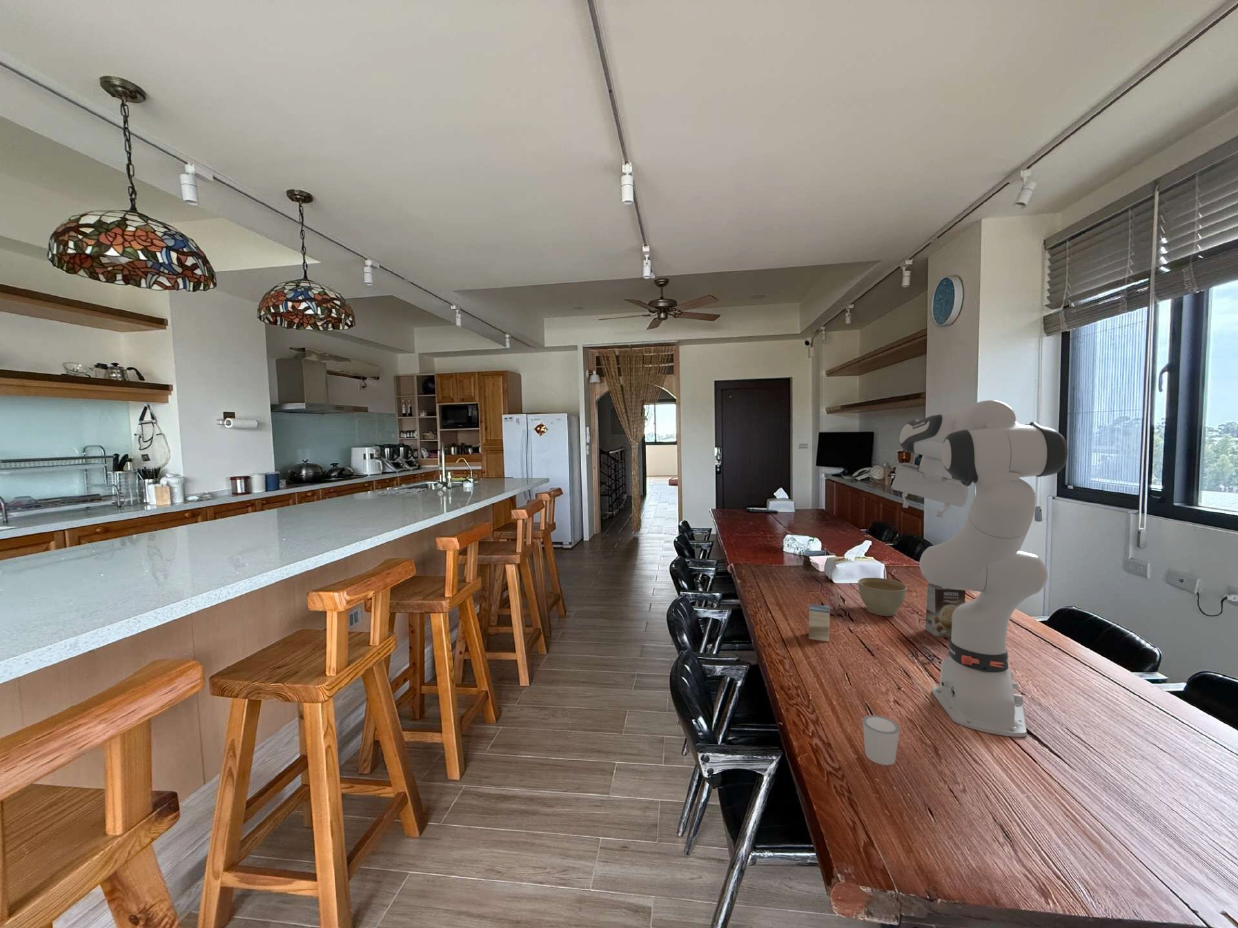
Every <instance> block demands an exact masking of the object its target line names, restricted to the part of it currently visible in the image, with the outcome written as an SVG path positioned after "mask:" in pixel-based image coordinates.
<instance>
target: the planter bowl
mask: <svg viewBox="0 0 1238 928" xmlns="http://www.w3.org/2000/svg"><path fill="white" fill-rule="evenodd" d="M857 584H858V593H859V595H860V598H861V601H862V602H863V604H864V606H866V607H865V608H866V611H868V612H869V613H871V614H873V615H877V616H882V617H883V616H884V617H890V616H891V617H892V616H895V615H896V613H897V611H898V610H899V609H900V608H901V606H902V605H903V603H904V601H905V598H906V593H907V585H906V584H905V583H902V582H900V581H898V580H893V579H890V578H889V579H888V578H881V577H863V578H860V579H858V580H857Z"/></svg>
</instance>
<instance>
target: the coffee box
mask: <svg viewBox="0 0 1238 928" xmlns="http://www.w3.org/2000/svg"><path fill="white" fill-rule="evenodd" d="M926 586H927V589H926V611H925V628H924V629H925V630H926V631H928V633H930V634H932V636H934V637H943V638H944V637H947V638H948V637H949V638H951V632H952V613H953V611H954V610H955V609H956V608H957V607H958V606H960V605H962V604H964V603H966V591H967V590H957V589H949V588H945V587H941V586H937V585H934V584H930V583H927V585H926Z"/></svg>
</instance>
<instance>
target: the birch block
mask: <svg viewBox="0 0 1238 928" xmlns="http://www.w3.org/2000/svg"><path fill="white" fill-rule="evenodd" d="M830 608H831V607H830V606H829V605H823V604H821V605H820V604H815V603H814V604H812V603H810V604H809V608H808V639H809V640H815V641H822V642H829V641H830V611H831V610H830Z"/></svg>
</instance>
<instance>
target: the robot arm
mask: <svg viewBox="0 0 1238 928" xmlns="http://www.w3.org/2000/svg"><path fill="white" fill-rule="evenodd" d="M898 441H899V445H900V446H901V448H902V449H903V451H905V452H906V453H910V454H918V455H922V457H921V460H920V463H919V465H917V464H912V463H909V462H903V463H902V462H901V463H899V464H897V465H896V467H895V471H894V473H895V477H894V479H893V481H892V484H891V488H892V490H894V491H897V492H901V493H902V494H901V496H902V497H901V498H902V501H903V504H902V508H906V509H908V507H909V506H910V502H907V500H906V497H908V494H910V495H913V496H917V497H921V498H924V499H929V500H933V501H937V502H939V503H944V505H943V506H944V508H943V509H942V510H937V513H936V517H938V518H941V519H942V518H943V516H944V513H946V511H948V510H949V509H950V508H951V506H956V507H959V508H963V507H965V506H966V504H967V501H968V496H969V486H971V485H972V483H973V484H974V486H975V494H974V495H975V496H974V499H973V500H972V503H971V505H970V508H969V511H968V515H967V517H966V520H965V523H964V524H963V527H962V529H961V530H960V531H959V532H958V533H957V534H956V535H954V536H952V537H951V538H950V539H948V540H946V541H944V542H941V543H939V544H935V545H932V546H931V545H930V546H928V547H927V548H926V549H924V551H923V552H922V554H921V556H920V558H919V569H920V572H921V574H922V577H924V579H925V580H926V581H927V583H928V584H934V585H937V586H941V587H945V588H949V589H957V590H966V591H970V592H979V595H978V596H977V597H976V598H975V599H973V600H971V601H969V602H968V601H967V602H965V603H964V604H962V605H960V606H958V607H957V608H956V609H955V610H954V611H953V613H952V632H951V637H950V639H949V641H948V656H947V657H946V658H945V659H943V660H942V661H941V665H940V675H939V686H938V685H937V686H932V688H931V693H932V694H933V696H934V697H935V698H936V700H937V701H938V703H939V704H940V705H941V707H942V708H943V709H944V711H945V712H946V713H947V714H948V716H949V717H950V719H951V721H953V722H954V723H956V724H957V725H960V726H964V727H965V728H969V729H973V730H976V731H979V732H983V733H988V734H993V735H999V736H1005V737H1014V738H1018V737H1019V738H1022V737H1023V738H1024V737H1027V736H1028V732H1027V726H1026V725H1027V724H1026V719H1025V712H1024V705H1023V704H1024V698H1023V695H1022V694H1017V693H1014V689H1015V690H1017V689H1018V683H1017V682H1014V681H1013V672H1012V671H1011V670H1010V668H1009V662H1010V661H1009V655H1008V653H1009V652H1008V650H1007V649H1006V648H1007V647H1006V646H1007V635H1008V628H1009V623H1010V622H1009V621H1010V619H1011V616H1012V615H1013V613H1014V611H1016V609H1017V607H1019V605H1021V603H1023V602H1024V601H1025V600H1027V599H1028V598H1030V597H1031V596H1034V595H1036V594H1039V592H1041V591H1043V589H1044V588H1045V586H1046V584H1047V582H1048V577H1049V575H1048V570H1047V567H1046V565H1045V563H1044V561H1043V560H1042V559H1041V558H1040V557H1039V556H1038V555H1037V554H1035V553H1031V552H1028V551H1024V550H1021V549H1022V546H1023V544H1024V542H1025V539H1026V537H1027V534H1028V532H1029V529H1030V528H1031V525H1032V522H1033V519H1034V515H1035V511H1036V493H1035V490H1034V488H1033V487H1032V486H1031V484H1029V483H1028V481H1025V480H1023V479H1021V478H1030V477H1037V478H1040V477H1041V478H1042V477H1047V476H1053V475H1054V474H1055V475H1056V474H1058V473H1060V472H1061V471H1062V469H1063V468H1064V467H1065V466H1066V463H1067V461H1068V454H1069V450H1068V445H1067V441H1066V439H1065V437H1064V435H1062V433H1060V432H1058V431H1057V430H1056V429H1053V428H1052V427H1051V428H1050V427H1047V426H1042V425H1040V424H1038V423H1037V422H1034V421H1031V422H1029V424H1027V423H1025V424H1020V423H1018V422H1017V418H1016V413H1015V411H1014V410H1013V409H1012V407H1011V406H1010V405H1008V404H1007V403H1005V402H1003V401H999V400H995V399H989V400H988V399H987V400H982V401H977V402H975V403H972V404H970V405H968V406H965V408H963V409H960V410H956V411H951V412H945V413H941V414H935V415H930V416H928V417H925V418H923V419H916V418H914V419H912V420H910V421H909V422H907V423H906V424H905V425H904V426H903V428H902V429H901V431H900V435H899V440H898Z"/></svg>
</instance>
